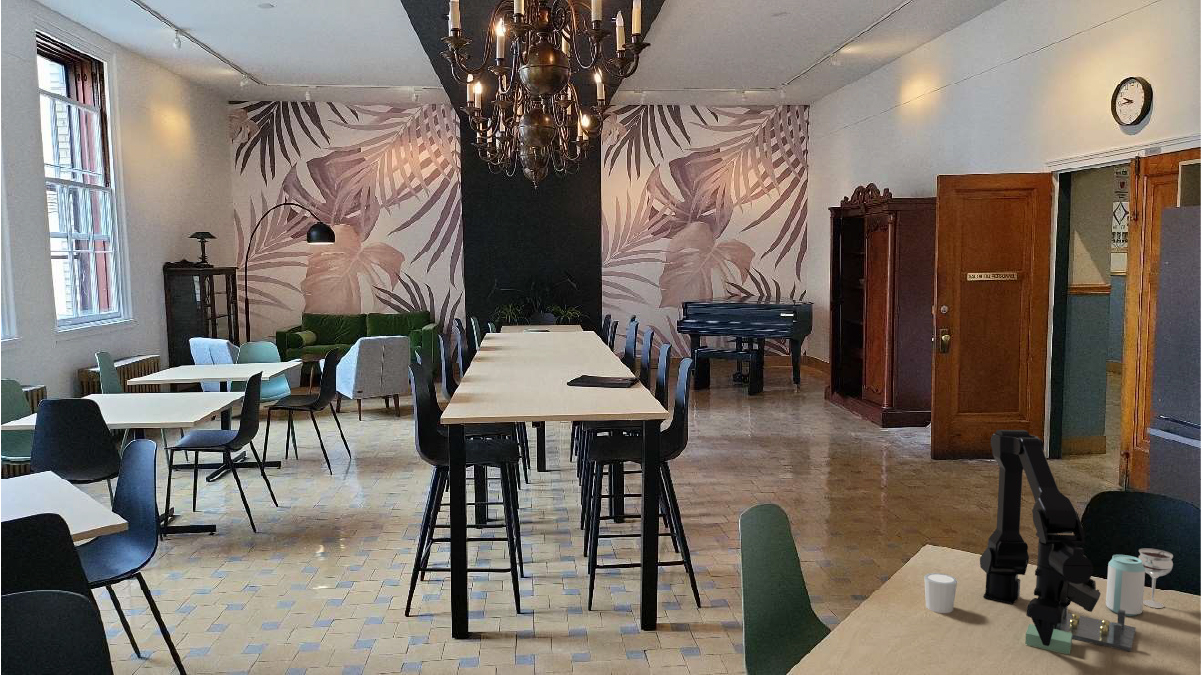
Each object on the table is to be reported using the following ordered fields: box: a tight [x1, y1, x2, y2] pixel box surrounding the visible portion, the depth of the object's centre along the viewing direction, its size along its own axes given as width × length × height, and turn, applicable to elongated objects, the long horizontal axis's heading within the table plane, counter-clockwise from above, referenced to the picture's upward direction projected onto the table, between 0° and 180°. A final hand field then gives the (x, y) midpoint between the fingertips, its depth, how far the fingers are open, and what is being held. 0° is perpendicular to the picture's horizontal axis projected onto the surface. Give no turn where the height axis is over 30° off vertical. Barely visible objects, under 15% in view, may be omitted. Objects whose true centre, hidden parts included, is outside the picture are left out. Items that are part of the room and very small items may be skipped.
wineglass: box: [1137, 548, 1174, 608], centre depth 199 cm, size 7×7×12 cm
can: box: [1105, 554, 1146, 617], centre depth 196 cm, size 7×7×12 cm
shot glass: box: [923, 572, 958, 614], centre depth 197 cm, size 7×7×7 cm
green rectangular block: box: [1024, 623, 1073, 655], centre depth 179 cm, size 8×6×3 cm
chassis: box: [1056, 606, 1137, 652], centre depth 185 cm, size 16×12×4 cm
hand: (1048, 639), depth 179 cm, fingers open, 6 cm apart
